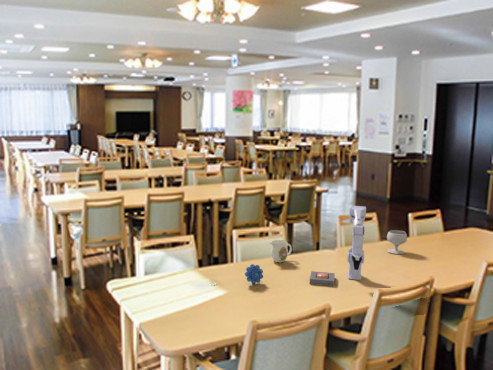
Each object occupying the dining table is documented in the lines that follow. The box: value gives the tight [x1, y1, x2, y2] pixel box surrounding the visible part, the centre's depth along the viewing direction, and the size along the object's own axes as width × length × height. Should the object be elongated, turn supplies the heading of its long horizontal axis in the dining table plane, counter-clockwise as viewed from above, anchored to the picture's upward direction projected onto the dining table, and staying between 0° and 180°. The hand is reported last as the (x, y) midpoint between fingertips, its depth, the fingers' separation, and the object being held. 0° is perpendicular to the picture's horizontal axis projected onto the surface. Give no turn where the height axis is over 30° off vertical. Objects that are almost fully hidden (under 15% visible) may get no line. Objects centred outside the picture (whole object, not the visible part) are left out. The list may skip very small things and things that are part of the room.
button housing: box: [309, 270, 335, 287], centre depth 282 cm, size 14×14×3 cm
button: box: [317, 273, 328, 279], centre depth 281 cm, size 7×7×2 cm
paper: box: [205, 282, 217, 298], centre depth 267 cm, size 25×17×1 cm
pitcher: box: [269, 239, 293, 263], centre depth 316 cm, size 11×18×14 cm, turn 122°
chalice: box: [386, 229, 408, 255], centre depth 343 cm, size 14×14×15 cm
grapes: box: [244, 263, 264, 285], centre depth 273 cm, size 12×7×12 cm, turn 114°
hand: (356, 268), depth 273 cm, fingers closed
